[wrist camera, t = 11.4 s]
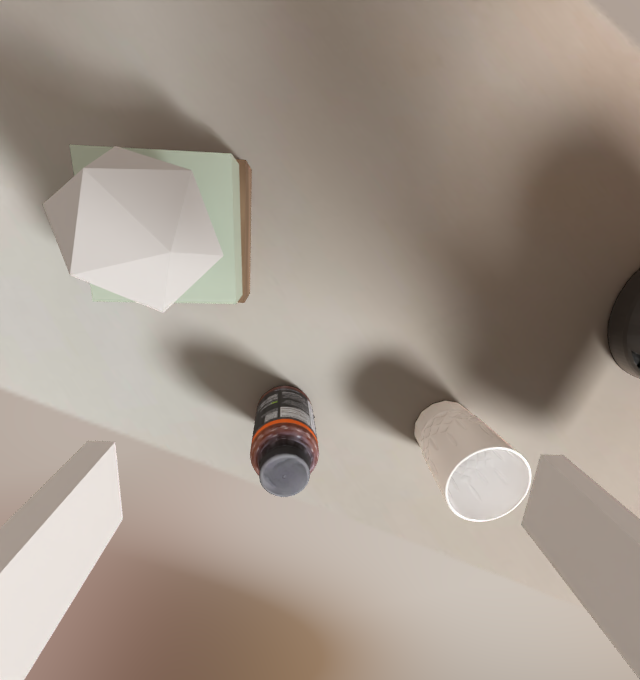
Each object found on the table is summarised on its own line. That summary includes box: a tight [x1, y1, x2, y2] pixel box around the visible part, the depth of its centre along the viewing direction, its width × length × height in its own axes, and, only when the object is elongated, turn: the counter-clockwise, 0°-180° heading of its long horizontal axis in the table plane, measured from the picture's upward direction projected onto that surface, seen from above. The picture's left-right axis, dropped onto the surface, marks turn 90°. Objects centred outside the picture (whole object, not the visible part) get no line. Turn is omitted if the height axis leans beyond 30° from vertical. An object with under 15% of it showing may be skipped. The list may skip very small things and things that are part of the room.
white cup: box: [414, 401, 531, 522], centre depth 37 cm, size 8×8×10 cm
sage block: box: [69, 144, 243, 304], centre depth 27 cm, size 10×10×4 cm
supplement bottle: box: [250, 386, 319, 497], centre depth 34 cm, size 6×6×11 cm
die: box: [42, 146, 224, 313], centre depth 21 cm, size 8×9×10 cm
